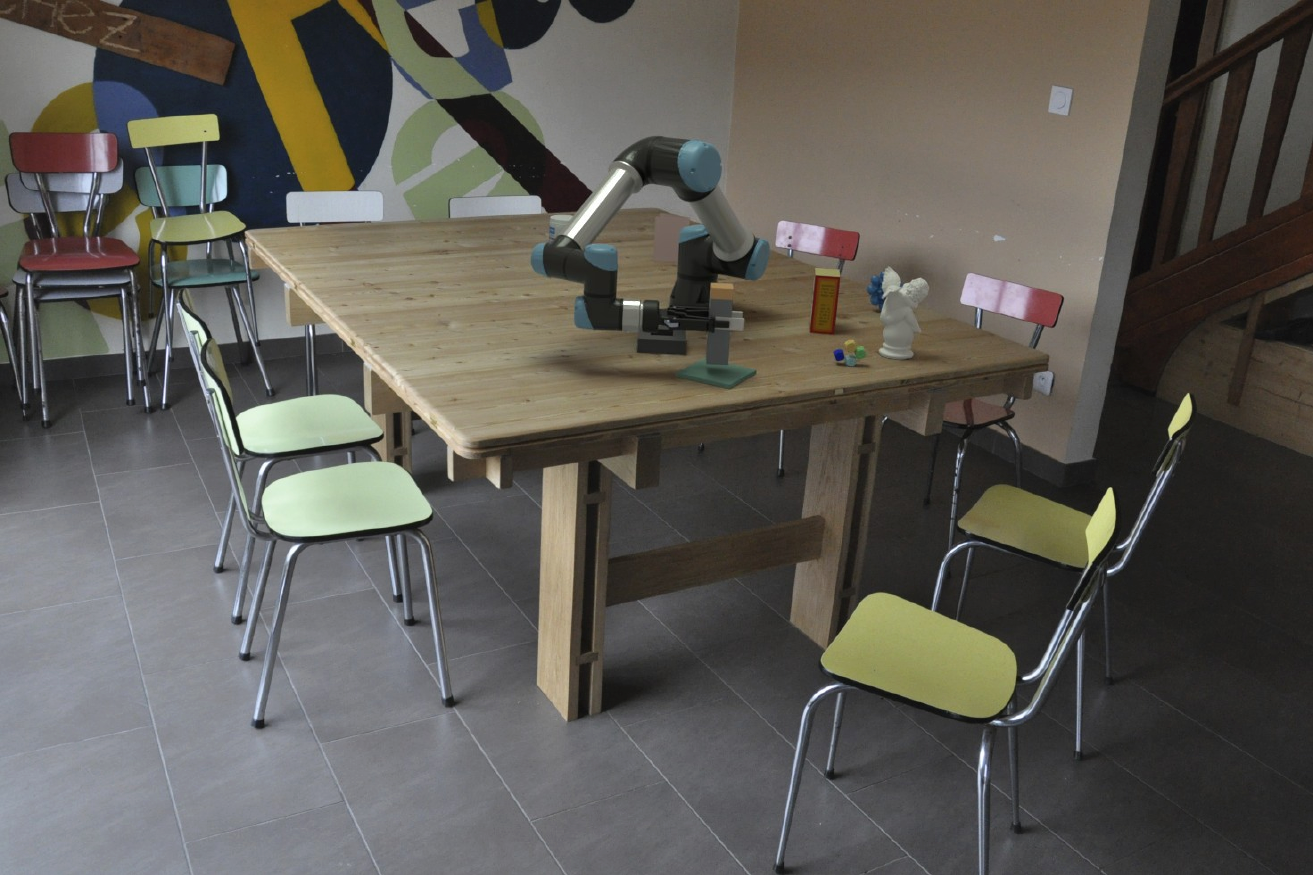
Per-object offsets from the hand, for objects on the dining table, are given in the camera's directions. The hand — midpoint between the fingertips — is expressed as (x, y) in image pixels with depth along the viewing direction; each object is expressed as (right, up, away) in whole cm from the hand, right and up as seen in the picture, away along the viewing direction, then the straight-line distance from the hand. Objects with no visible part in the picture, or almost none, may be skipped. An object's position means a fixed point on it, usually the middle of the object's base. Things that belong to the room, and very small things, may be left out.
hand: (742, 321), depth 255 cm
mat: (-6, -12, +5) cm, 14 cm away
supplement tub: (-50, +30, +106) cm, 121 cm away
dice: (+27, -9, +18) cm, 34 cm away
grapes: (+46, +9, +66) cm, 81 cm away
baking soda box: (+25, +3, +47) cm, 53 cm away
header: (-19, -4, +25) cm, 31 cm away
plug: (-6, -9, +4) cm, 11 cm away
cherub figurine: (+40, -6, +26) cm, 48 cm away
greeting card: (-16, +32, +115) cm, 121 cm away
